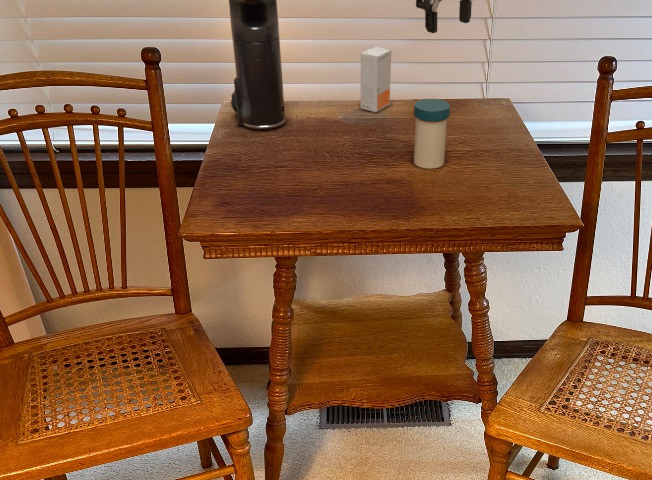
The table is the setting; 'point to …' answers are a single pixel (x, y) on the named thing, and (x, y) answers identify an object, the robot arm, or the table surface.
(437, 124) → the white jar
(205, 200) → the table surface
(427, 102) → the jam lid
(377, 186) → the table surface
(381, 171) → the table surface
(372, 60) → the cosmetic box
